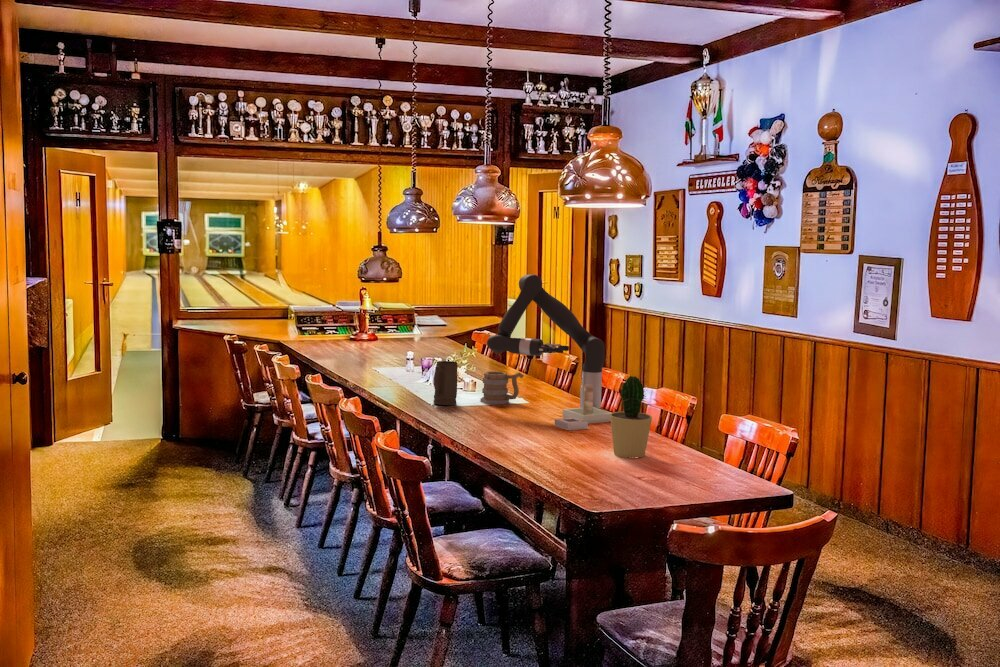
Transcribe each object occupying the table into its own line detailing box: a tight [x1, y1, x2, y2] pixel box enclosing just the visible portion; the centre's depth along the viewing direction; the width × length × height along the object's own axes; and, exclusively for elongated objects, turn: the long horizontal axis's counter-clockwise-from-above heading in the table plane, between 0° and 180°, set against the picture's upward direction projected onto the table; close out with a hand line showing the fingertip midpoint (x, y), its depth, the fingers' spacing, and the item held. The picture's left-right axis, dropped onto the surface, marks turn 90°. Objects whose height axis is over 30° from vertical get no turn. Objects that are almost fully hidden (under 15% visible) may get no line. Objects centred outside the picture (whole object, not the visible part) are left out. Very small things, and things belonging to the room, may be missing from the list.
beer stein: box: [432, 360, 459, 406], centre depth 431 cm, size 15×11×20 cm
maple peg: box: [583, 385, 593, 415], centre depth 409 cm, size 4×4×14 cm
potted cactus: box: [610, 375, 653, 459], centre depth 344 cm, size 15×15×30 cm
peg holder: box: [554, 417, 589, 431], centre depth 391 cm, size 10×10×3 cm
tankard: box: [480, 370, 524, 405], centre depth 442 cm, size 20×13×15 cm, turn 73°
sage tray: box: [562, 407, 612, 424], centre depth 409 cm, size 16×16×4 cm
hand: (566, 349), depth 410 cm, fingers open, 8 cm apart
